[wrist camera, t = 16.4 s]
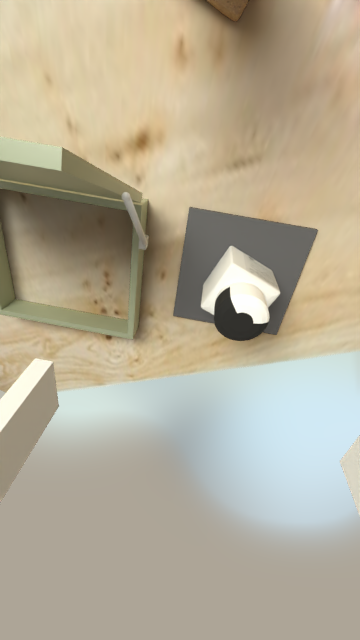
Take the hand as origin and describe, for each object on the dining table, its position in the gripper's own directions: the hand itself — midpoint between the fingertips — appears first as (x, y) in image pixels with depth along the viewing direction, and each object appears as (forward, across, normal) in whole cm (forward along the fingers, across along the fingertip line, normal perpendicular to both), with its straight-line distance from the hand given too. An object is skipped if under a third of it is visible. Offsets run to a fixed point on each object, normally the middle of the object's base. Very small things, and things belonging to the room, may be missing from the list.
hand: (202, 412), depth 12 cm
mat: (+35, -5, +8) cm, 36 cm away
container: (+34, -5, +8) cm, 36 cm away
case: (+35, +21, +8) cm, 42 cm away
